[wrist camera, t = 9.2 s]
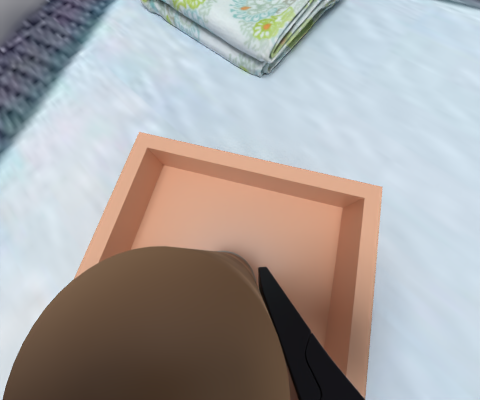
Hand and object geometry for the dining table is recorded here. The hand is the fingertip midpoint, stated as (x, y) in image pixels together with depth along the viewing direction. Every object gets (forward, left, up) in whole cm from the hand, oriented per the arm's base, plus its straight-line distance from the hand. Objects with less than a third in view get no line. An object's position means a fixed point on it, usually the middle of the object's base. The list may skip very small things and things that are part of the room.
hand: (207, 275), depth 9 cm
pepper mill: (0, +1, -7) cm, 7 cm away
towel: (+7, -33, -9) cm, 34 cm away
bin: (0, +1, -8) cm, 8 cm away
